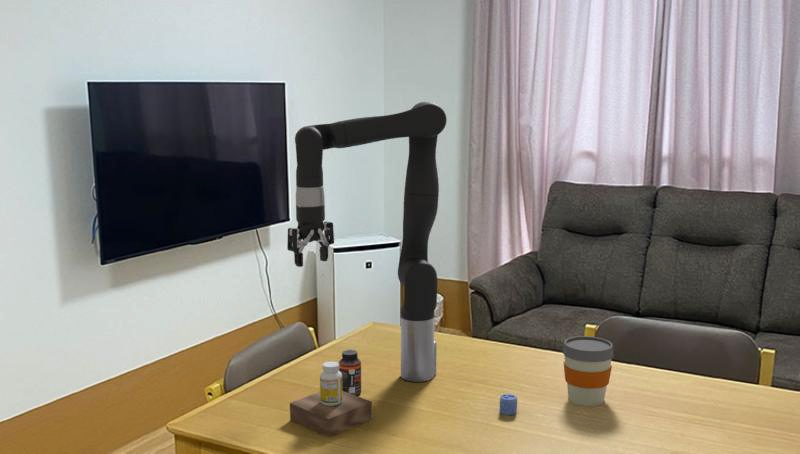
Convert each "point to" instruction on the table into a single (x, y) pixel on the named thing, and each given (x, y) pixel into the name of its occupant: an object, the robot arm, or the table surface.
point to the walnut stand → (330, 413)
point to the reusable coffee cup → (587, 369)
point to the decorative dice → (508, 404)
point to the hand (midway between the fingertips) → (311, 263)
